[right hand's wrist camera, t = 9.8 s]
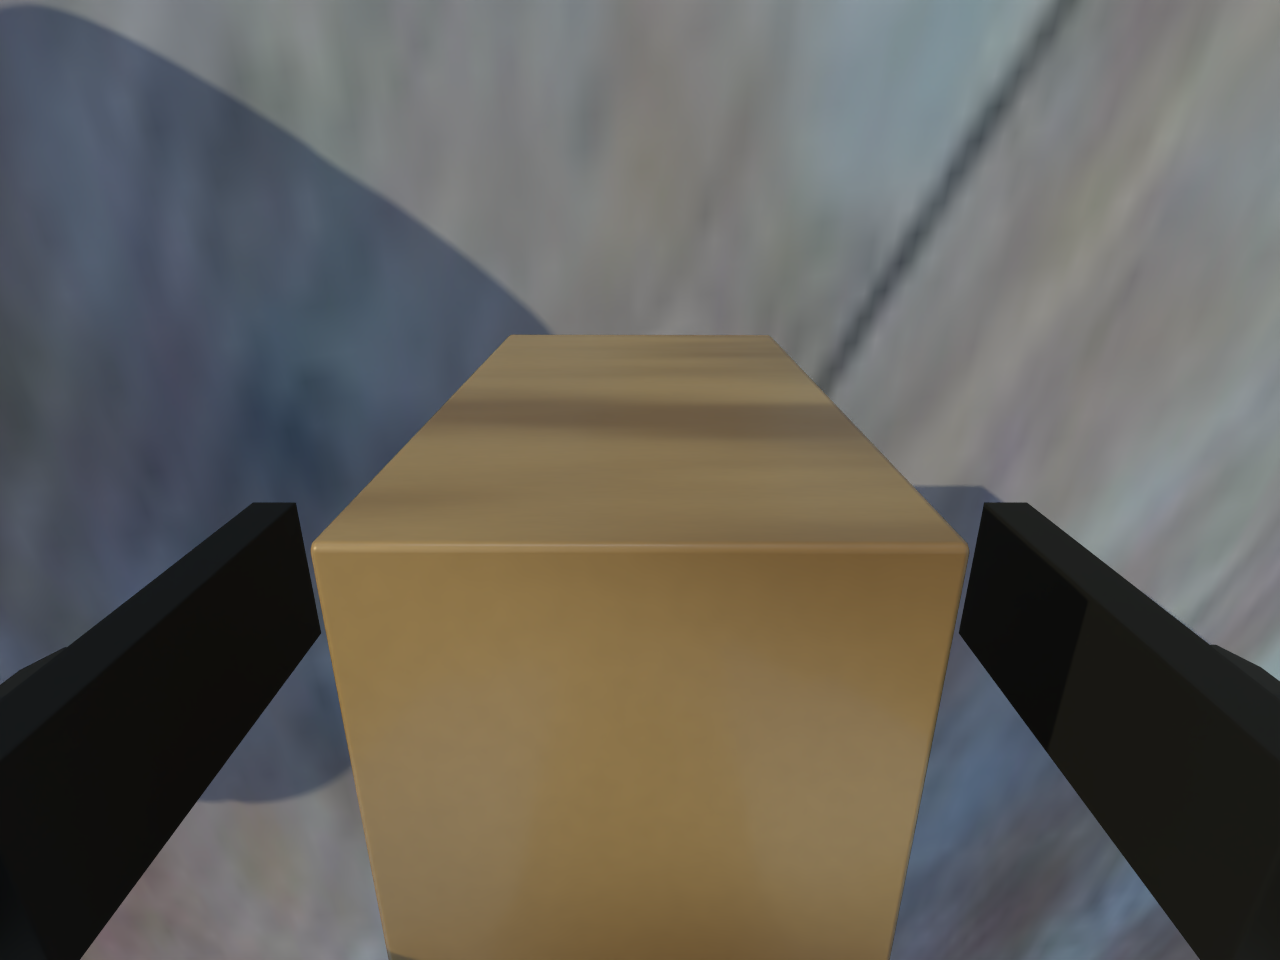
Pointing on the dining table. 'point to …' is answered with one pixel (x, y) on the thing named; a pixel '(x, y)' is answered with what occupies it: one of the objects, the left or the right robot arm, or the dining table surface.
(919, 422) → the dining table surface
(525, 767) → the bar
